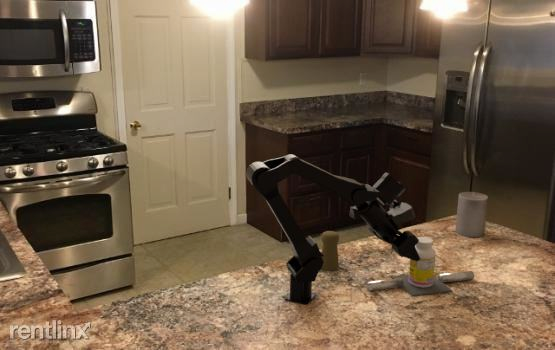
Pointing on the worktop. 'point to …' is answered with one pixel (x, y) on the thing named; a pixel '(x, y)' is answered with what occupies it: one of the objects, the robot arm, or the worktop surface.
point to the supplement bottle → (423, 264)
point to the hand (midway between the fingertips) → (410, 253)
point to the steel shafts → (399, 282)
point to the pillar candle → (471, 214)
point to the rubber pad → (416, 291)
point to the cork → (330, 251)
